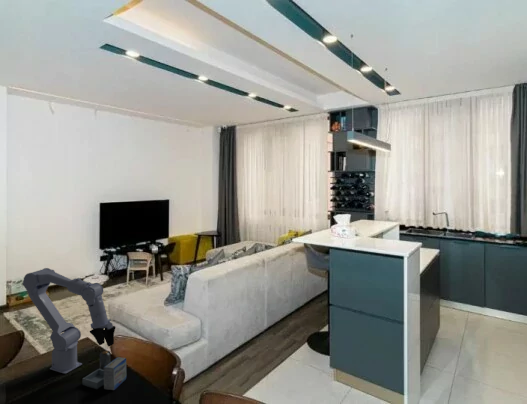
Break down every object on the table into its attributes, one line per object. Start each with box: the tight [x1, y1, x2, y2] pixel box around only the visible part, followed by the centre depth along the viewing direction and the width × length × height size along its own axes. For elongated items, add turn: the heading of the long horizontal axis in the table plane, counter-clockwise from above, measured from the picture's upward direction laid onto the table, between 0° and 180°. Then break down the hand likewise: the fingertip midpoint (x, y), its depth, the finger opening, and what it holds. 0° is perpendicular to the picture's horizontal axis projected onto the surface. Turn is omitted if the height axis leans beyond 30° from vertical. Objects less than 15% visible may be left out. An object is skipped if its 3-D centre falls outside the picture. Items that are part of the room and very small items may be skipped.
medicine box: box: [103, 356, 127, 391], centre depth 126 cm, size 8×4×9 cm, turn 168°
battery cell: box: [99, 350, 111, 370], centre depth 136 cm, size 4×4×8 cm
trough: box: [82, 368, 104, 390], centre depth 127 cm, size 8×8×2 cm
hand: (106, 344), depth 135 cm, fingers open, 7 cm apart
